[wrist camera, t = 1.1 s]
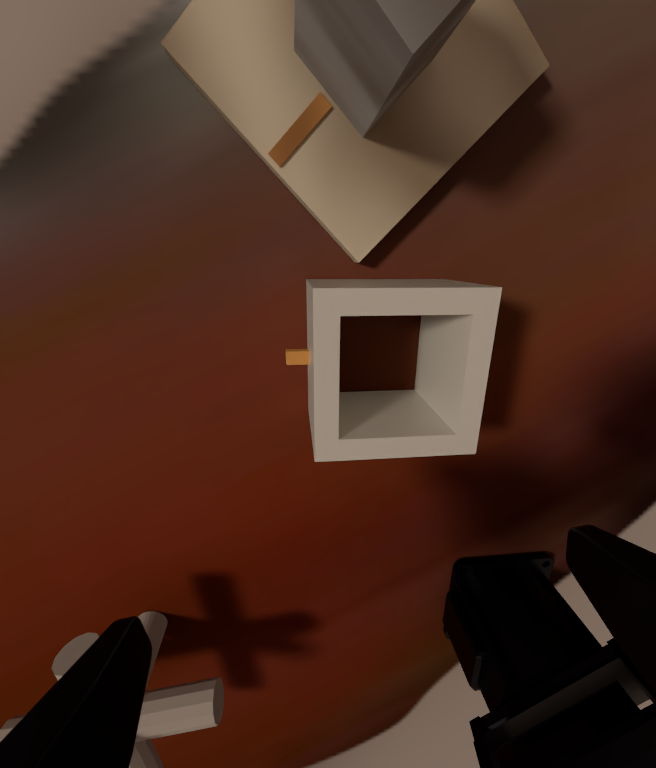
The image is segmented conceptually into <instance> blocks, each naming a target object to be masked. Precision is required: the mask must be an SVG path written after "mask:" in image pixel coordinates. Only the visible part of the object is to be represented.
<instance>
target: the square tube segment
mask: <svg viewBox="0 0 656 768" xmlns="http://www.w3.org/2000/svg"><path fill="white" fill-rule="evenodd" d="M306 288H307V349H286V365H304V364H308V410H309V418H310V427H311V435H312V443H313V452H314V460H315V462H324V461H344V460H364V459H383V458H403V457H423V456H443V455H463V454H476V449H477V442H478V436H479V430H480V424H481V417H482V411H483V405H484V398H485V392H486V386H487V380H488V373H489V367H490V361H491V355H492V348H493V342H494V336H495V329H496V323H497V317H498V311H499V304H500V298H501V292H502V287H496V286H489V285H482V284H475V283H467V282H460V281H453V280H446V279H306ZM396 315H421V323H420V334H419V346H418V357H417V368H416V379H415V390H390V391H359V392H339V369H340V316H396Z"/></svg>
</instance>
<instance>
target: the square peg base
mask: <svg viewBox="0 0 656 768" xmlns="http://www.w3.org/2000/svg"><path fill="white" fill-rule="evenodd" d="M161 45H162V46H163V48H164V50H165V51H166V53H167V55H168V56H169V58H170V59H171V60H172V61H173V63H174V64H175V65H176V66H177V67H178V68H179V69H180V70H181V71H182V72H183V74H184V75H185V76H186V77H187V78H188V79H189V80H190V81H191V82H192V83H193V85H194V86H195V87H196V88H197V89H198V90H199V91H200V92H201V93H202V94H203V96H204V97H205V98H206V99H207V100H208V101H209V102H210V103H211V104H212V106H213V107H214V108H215V109H216V110H217V111H218V112H219V113H220V114H221V115H222V117H223V118H224V119H225V120H226V121H227V122H228V123H229V124H230V125H231V126H232V128H233V129H234V130H235V131H236V132H237V133H238V134H239V135H240V136H241V137H242V139H243V140H244V141H245V142H246V143H247V144H248V145H249V146H250V147H251V148H252V150H253V151H254V152H255V153H256V154H257V155H258V156H259V157H260V158H261V159H262V161H263V162H264V163H265V164H266V165H267V166H268V167H269V168H270V169H271V171H272V172H273V173H274V174H275V175H276V176H277V177H278V178H279V179H280V180H281V182H282V183H283V184H284V185H285V186H286V187H287V188H288V189H289V190H290V191H291V193H292V194H293V195H294V196H295V197H296V198H297V199H298V200H299V201H300V202H301V204H302V205H303V206H304V207H305V208H306V209H307V210H308V211H309V212H310V213H311V215H312V216H313V217H314V218H315V219H316V220H317V221H318V222H319V223H320V225H321V226H322V227H323V228H324V229H325V230H326V231H327V232H328V233H329V234H330V236H331V237H332V238H333V239H334V240H335V241H336V242H337V243H338V244H339V245H340V247H341V248H342V249H343V250H344V251H345V252H346V253H347V254H348V255H349V256H350V258H351V259H352V260H353V261H354V262H356V263H359V262H360V261H361V260H362V259H363V258H364V257H365V256H366V255H367V254H368V253H369V252H370V251H371V250H372V249H373V248H374V247H375V246H376V245H377V244H378V243H379V241H380V240H381V239H382V238H383V237H384V236H385V235H386V234H387V233H388V232H389V231H390V230H391V229H392V228H393V227H394V226H395V225H396V224H397V223H398V222H399V221H400V220H401V219H402V218H403V217H404V216H405V215H406V214H407V213H408V211H409V210H410V209H411V208H412V207H413V206H414V205H415V204H416V203H417V202H418V201H419V200H420V199H421V198H422V197H423V196H424V195H425V194H426V193H427V192H428V191H429V190H430V189H431V188H432V187H433V186H434V185H435V184H436V183H437V181H438V180H439V179H440V178H441V177H442V176H443V175H444V174H445V173H446V172H447V171H448V170H449V169H450V168H451V167H452V166H453V165H454V164H455V163H456V162H457V161H458V160H459V159H460V158H461V157H462V156H463V155H464V154H465V153H466V151H467V150H468V149H469V148H470V147H471V146H472V145H473V144H474V143H475V142H476V141H477V140H478V139H479V138H480V137H481V136H482V135H483V134H484V133H485V132H486V131H487V130H488V129H489V128H490V127H491V126H492V125H493V124H494V123H495V121H496V120H497V119H498V118H499V117H500V116H501V115H502V114H503V113H504V112H505V111H506V110H507V109H508V108H509V107H510V106H511V105H512V104H513V103H514V102H515V101H516V100H517V99H518V98H519V97H520V96H521V95H522V94H523V93H524V91H525V90H526V89H527V88H528V87H529V86H530V85H531V84H532V83H533V82H534V81H535V80H536V79H537V78H538V77H539V76H540V75H541V74H542V73H543V72H544V71H545V70H546V69H547V68H548V67H549V66H550V65H549V63H548V61H547V59H546V58H545V56H544V54H543V52H542V51H541V49H540V47H539V45H538V44H537V42H536V40H535V38H534V36H533V35H532V33H531V31H530V29H529V28H528V26H527V24H526V22H525V20H524V19H523V17H522V15H521V13H520V12H519V10H518V8H517V6H516V4H515V3H514V1H513V0H192V1H191V2H190V4H189V5H188V6H187V8H186V9H185V11H184V12H183V13H182V15H181V16H180V17H179V19H178V20H177V21H176V23H175V24H174V25H173V27H172V28H171V29H170V31H169V32H168V34H167V35H166V36H165V38H164V39H163V40H162V42H161Z"/></svg>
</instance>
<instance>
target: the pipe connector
mask: <svg viewBox="0 0 656 768" xmlns="http://www.w3.org/2000/svg"><path fill="white" fill-rule="evenodd" d="M138 618H140V620H141V622H142V624H143V626H144V628H145V630H146V633H147V635H148V637H149V639H150V641H151V644H152V658H151V663H150V668H149V673H148V679H147V684H148V681H149V678H150V675H151V672H152V669H153V666H154V663H155V660H156V657H157V654H158V651H159V648H160V645H161V642H162V639H163V636H164V633H165V630H166V627H167V623H168V621H167V618H166V617H165V616H164V615H163V614H161V613H159V612H154V611H149V612H145V613H142V614H141V615H140V616H139V617H138ZM98 638H99V636H98V635H97V633H86V634H83V635H80V636H78V637H76V638H74V639H73V640H72V641H70V642H69V643H68V644H66V645H65V646H64V647H63V648H62V650H61V651H60V652H59V653H58V654H57V656H56V657H55V659H54V662H53V665H52V670H53V672H54V675H55V676H56V678H57V680H59V679H60V678H61V677H62V676H63V675H64V674H65V673H66V672H67V671H68V670H69V668H70V667H71V666H72V665H73V664H74V663H75V662H76V661H77V660H78V659H79V658H80V657H81V656H82V655H83V654H84V653H85V651H86V650H87V649H88V648H89V647H90V646H91V645H92V644H93V643H94V642H95V641H96V640H97V639H98ZM147 684H146V687H147ZM145 690H146V689H145ZM223 703H224V690H223V683H222V679H221V678H220V677H215V678H210V679H205V680H200V681H195V682H190V683H184V684H179V685H174V686H169V687H164V688H158V689H153V690H148V691H145V694H144V699H143V704H142V710H141V715H140V720H139V725H138V730H137V735H136V740H135V745H134V749H133V754H132V758H131V762H130V765H129V768H164V765H163V763H162V761H161V759H160V757H159V755H158V753H157V751H156V749H155V747H154V745H153V743H152V741H151V739H154V738H159V737H164V736H169V735H174V734H179V733H184V732H189V731H194V730H199V729H204V728H209V727H214V726H218V724H219V723H220V722H221V717H222V713H223ZM25 715H26V714H24V715H19V716H15V717H13V718H11V719H9V720H8V721H7V722H6V723H5V724H4V726H3V727H2V728H1V729H0V742H1V741H2V740H3V739H4V738H5V736H6V735H7V734H8V733H9V732H10V731H11V730H12V729H13V728H14V727H15V726H16V725H17V724H18V723H19V722H20V721H21V719H22V718H23V717H24V716H25Z"/></svg>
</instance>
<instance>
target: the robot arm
mask: <svg viewBox="0 0 656 768" xmlns="http://www.w3.org/2000/svg"><path fill="white" fill-rule="evenodd" d="M566 561H567V564H568V567H569V569H570V571H571V572H572V574H573V575H574V577H575V578H576V580H577V581H578V583H579V585H580V586H581V588H582V589H583V591H584V592H585V594H586V595H587V597H588V599H589V600H590V602H591V603H592V605H593V606H594V608H595V609H596V611H597V612H598V614H599V616H600V617H601V619H602V620H603V622H604V623H605V625H606V626H607V628H608V629H609V631H610V633H611V634H612V636H613V637H614V638H613V639H611V640H609V641H607V643H608V645H606V646H604V647H602V646H601V645H600V643H599V642H598V641H597V640H596V638H595V637H594V636H593V635H592V634H591V632H590V631H589V630H588V629H587V627H586V626H585V625H584V623H583V622H582V621H581V620H580V618H579V617H578V616H577V615H576V613H575V612H574V611H573V610H572V608H571V607H570V606H569V605H568V603H567V602H566V601H565V600H564V598H563V597H562V596H561V595H560V593H559V592H558V591H557V590H556V589H555V587H554V586H553V585H552V584H551V582H550V581H549V579H550V575H551V571H552V568H553V564H554V561H553V559H552V558H551V557H550V556H549V555H548V554H546V553H540V554H528V555H515V556H502V557H490V558H477V559H464V560H458V561H457V562H455V563H454V565H453V569H452V576H451V582H450V589H449V592H448V593H447V596H446V603H445V610H444V616H443V623H444V628H443V630H444V633H445V635H446V637H447V638H448V639H450V640H451V642H452V645H453V647H454V650H455V652H456V654H457V657H458V659H459V662H460V664H461V666H462V669H463V671H464V673H465V676H466V678H467V681H468V683H469V685H470V687H471V688H472V689H473V690H475V691H477V690H481V693H482V695H483V697H484V699H485V702H486V704H487V706H488V709H489V711H490V713H488V714H486V715H484V716H483V717H481V718H480V717H479V716H478V717H476V718H474V719H473V720H471V721H470V726H471V730H472V733H473V737H474V746H475V750H476V754H477V758H478V761H479V765H480V768H656V554H655V553H653V552H650V551H648V550H646V549H644V548H641V547H639V546H637V545H635V544H633V543H630V542H628V541H626V540H624V539H622V538H619V537H617V536H615V535H613V534H611V533H608V532H606V531H604V530H602V529H600V528H597V527H595V526H592V525H583V526H578V527H573V528H571V529H570V530H569V531H568V538H567V549H566ZM151 658H152V644H151V641H150V639H149V637H148V635H147V633H146V630H145V628H144V626H143V624H142V622H141V620H140V618H138V617H137V616H132V617H128V618H123V619H118V620H116V621H115V622H113V623H112V624H111V625H110V626H109V627H108V628H107V629H106V630H105V631H104V632H103V633H102V634H101V636H100V637H99V638H98V639H97V640H96V641H95V642H94V643H93V644H92V645H91V646H90V647H89V648H88V649H87V650H86V651H85V653H84V654H83V655H82V656H81V657H80V658H79V659H78V660H77V661H76V662H75V663H74V664H73V665H72V666H71V667H70V668H69V670H68V671H67V672H66V673H65V674H64V675H63V676H62V677H61V678H60V679H59V680H58V681H57V682H56V683H55V684H54V685H53V687H52V688H51V689H50V690H49V691H48V692H47V693H46V694H45V695H44V696H43V697H42V698H41V699H40V700H39V701H38V702H37V704H36V705H35V706H34V707H33V708H32V709H31V710H30V711H29V712H28V713H27V714H26V715H25V716H24V717H23V718H22V719H21V721H20V722H19V723H18V724H17V725H16V726H15V727H14V728H13V729H12V730H11V731H10V732H9V733H8V734H7V735H6V736H5V738H4V739H3V740H2V741H1V742H0V768H129V765H130V762H131V758H132V754H133V749H134V745H135V740H136V735H137V730H138V725H139V720H140V715H141V710H142V704H143V699H144V694H145V689H146V684H147V679H148V673H149V668H150V663H151ZM649 699H650V700H651V701H652V702H653V704H651V705H649V706H647V707H645V708H644V709H642V710H640V709H639V708H638V705H639V704H641V703H643V702H645V701H647V700H649Z"/></svg>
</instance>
